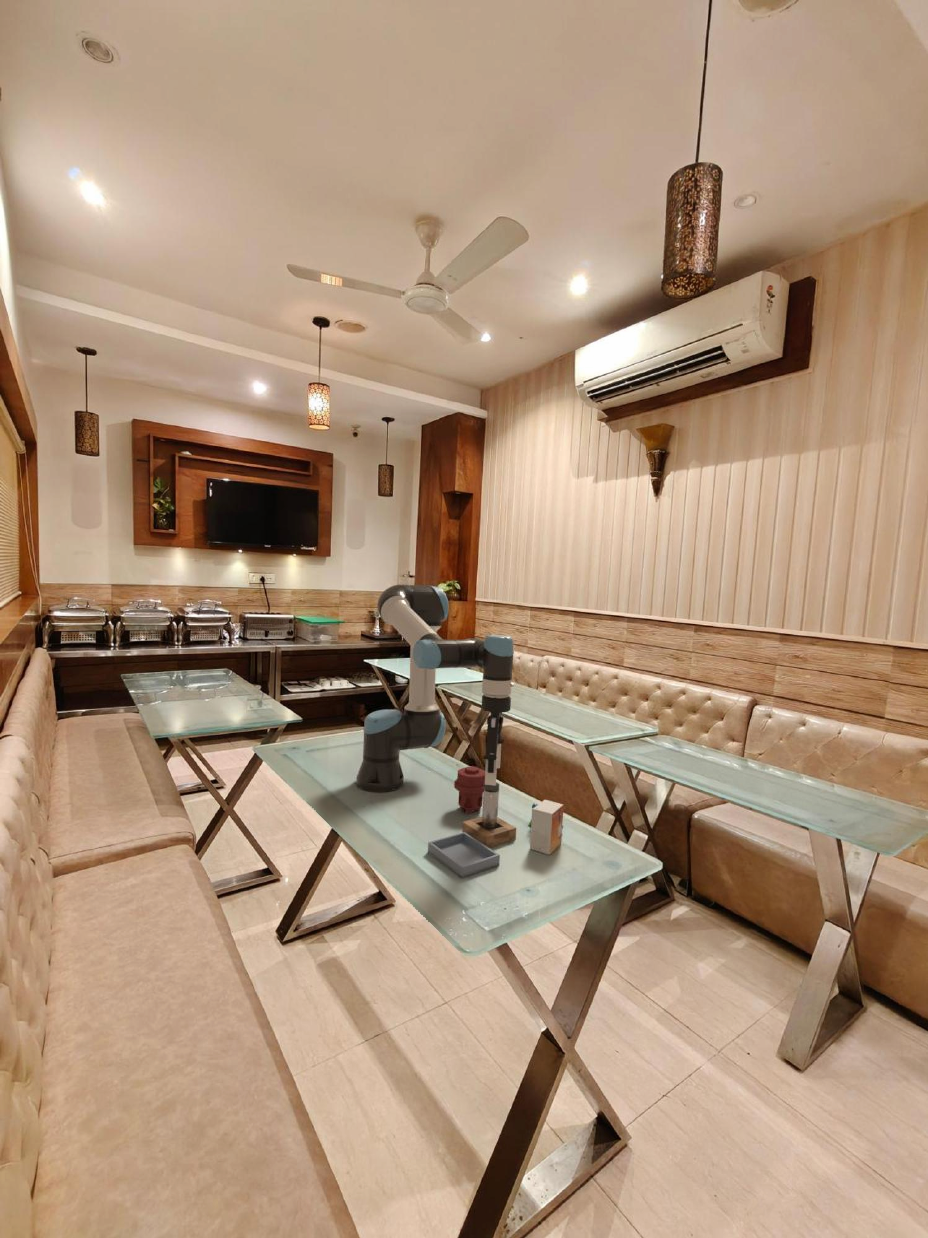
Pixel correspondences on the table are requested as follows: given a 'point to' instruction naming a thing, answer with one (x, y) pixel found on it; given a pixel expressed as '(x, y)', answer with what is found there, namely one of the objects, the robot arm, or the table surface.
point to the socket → (490, 832)
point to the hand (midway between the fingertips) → (492, 775)
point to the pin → (490, 807)
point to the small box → (546, 826)
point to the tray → (463, 854)
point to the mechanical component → (470, 788)
